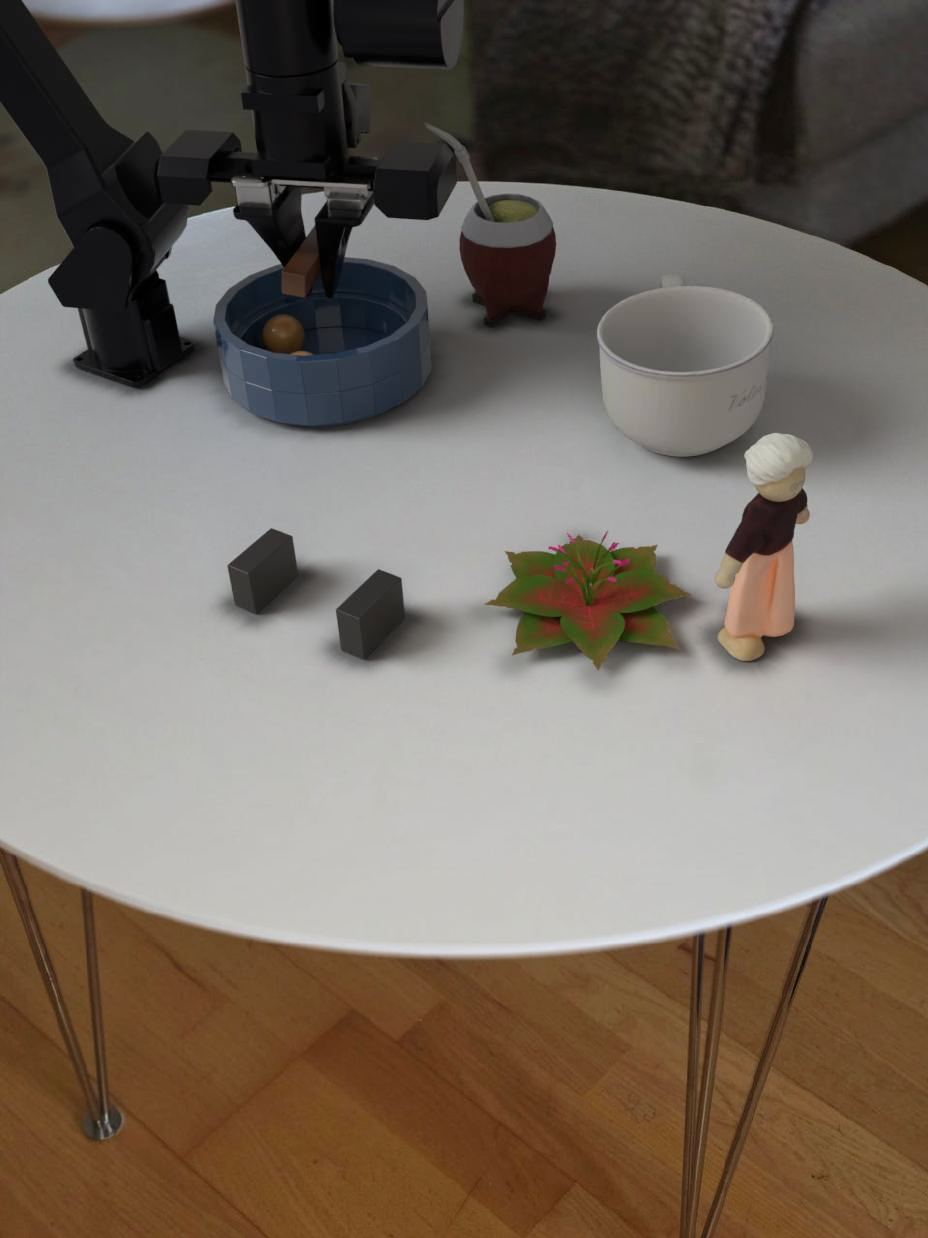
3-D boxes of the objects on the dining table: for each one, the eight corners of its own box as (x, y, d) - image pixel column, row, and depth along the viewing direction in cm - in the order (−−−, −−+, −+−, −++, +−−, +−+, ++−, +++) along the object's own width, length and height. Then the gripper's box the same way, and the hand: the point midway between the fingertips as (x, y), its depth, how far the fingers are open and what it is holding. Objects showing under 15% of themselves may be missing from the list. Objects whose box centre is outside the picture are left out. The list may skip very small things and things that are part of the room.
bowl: (183, 397, 96) (169, 326, 92) (310, 307, 105) (301, 240, 101) (351, 454, 90) (343, 382, 86) (470, 354, 99) (467, 284, 95)
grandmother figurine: (763, 683, 72) (791, 487, 64) (696, 658, 74) (715, 464, 65) (816, 600, 77) (850, 408, 69) (752, 579, 79) (777, 389, 70)
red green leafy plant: (679, 537, 82) (684, 474, 79) (710, 675, 73) (717, 609, 70) (478, 545, 82) (476, 483, 79) (485, 684, 73) (482, 620, 70)
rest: (234, 605, 79) (226, 565, 77) (277, 567, 81) (271, 527, 79) (364, 660, 75) (359, 619, 73) (405, 618, 77) (401, 577, 75)
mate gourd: (571, 299, 104) (574, 102, 94) (519, 345, 99) (516, 142, 89) (488, 277, 107) (482, 84, 98) (433, 321, 103) (421, 123, 93)
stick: (305, 298, 88) (305, 276, 87) (281, 293, 88) (281, 271, 87) (347, 233, 95) (348, 212, 94) (325, 229, 95) (326, 208, 94)
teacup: (756, 485, 85) (770, 373, 80) (584, 470, 87) (586, 360, 82) (765, 369, 96) (778, 264, 90) (610, 359, 97) (614, 255, 92)
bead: (307, 333, 96) (316, 328, 99) (272, 307, 96) (282, 303, 98) (284, 368, 97) (293, 362, 100) (249, 342, 96) (260, 337, 99)
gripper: (471, 21, 87) (479, 249, 97) (196, 12, 90) (232, 233, 101) (428, 85, 79) (442, 327, 89) (128, 72, 82) (175, 306, 93)
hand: (320, 294), depth 93 cm, fingers closed on stick, 1 cm apart
